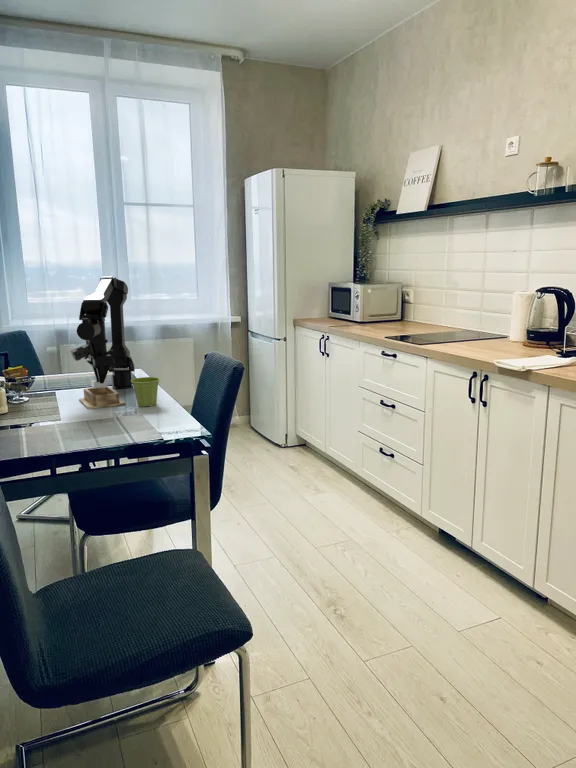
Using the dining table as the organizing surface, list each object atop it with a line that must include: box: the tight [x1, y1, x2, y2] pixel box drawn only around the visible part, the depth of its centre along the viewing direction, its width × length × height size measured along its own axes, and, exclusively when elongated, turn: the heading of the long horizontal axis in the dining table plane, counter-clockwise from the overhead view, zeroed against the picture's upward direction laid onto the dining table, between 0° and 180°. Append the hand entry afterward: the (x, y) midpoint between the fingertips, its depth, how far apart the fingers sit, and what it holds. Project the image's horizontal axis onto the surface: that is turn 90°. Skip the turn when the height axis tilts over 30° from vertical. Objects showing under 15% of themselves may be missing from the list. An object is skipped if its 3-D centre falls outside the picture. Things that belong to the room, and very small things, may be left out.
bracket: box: [90, 374, 109, 389], centre depth 198 cm, size 4×4×7 cm
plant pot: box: [131, 376, 161, 408], centre depth 195 cm, size 9×9×9 cm
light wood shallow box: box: [78, 385, 126, 410], centre depth 199 cm, size 12×15×4 cm
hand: (100, 382), depth 198 cm, fingers closed on bracket, 4 cm apart
